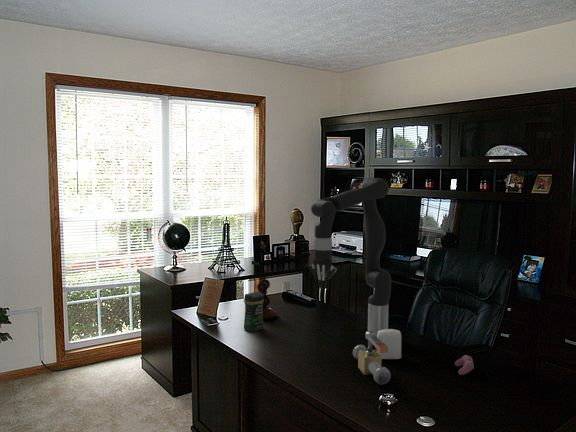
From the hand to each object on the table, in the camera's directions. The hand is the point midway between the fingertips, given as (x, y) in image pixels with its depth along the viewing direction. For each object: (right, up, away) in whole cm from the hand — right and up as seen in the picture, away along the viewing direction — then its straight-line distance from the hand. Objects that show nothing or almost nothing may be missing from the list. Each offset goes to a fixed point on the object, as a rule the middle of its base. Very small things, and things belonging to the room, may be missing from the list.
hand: (322, 288), depth 203 cm
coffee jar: (-31, -26, +36) cm, 54 cm away
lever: (+19, -18, -20) cm, 33 cm away
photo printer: (+28, -30, 0) cm, 41 cm away
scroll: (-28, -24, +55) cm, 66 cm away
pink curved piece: (+55, -31, -12) cm, 65 cm away
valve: (+18, -30, -12) cm, 37 cm away
